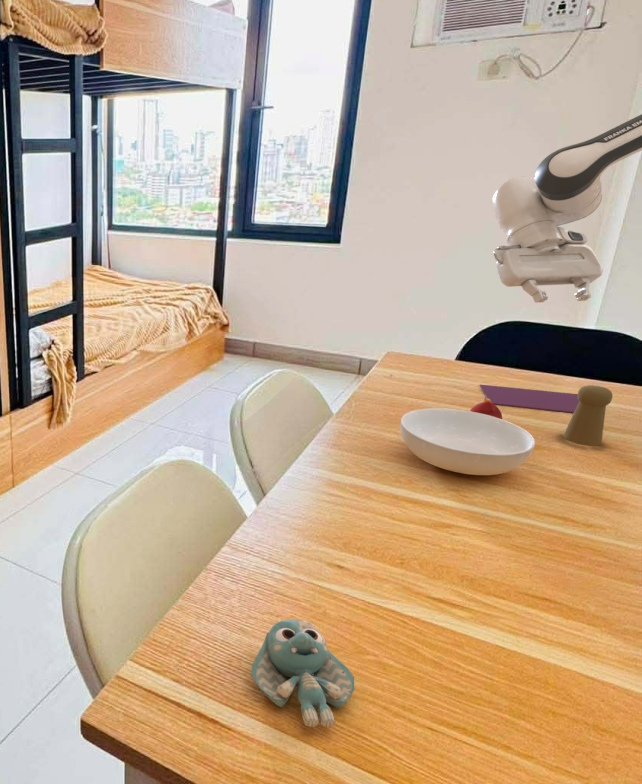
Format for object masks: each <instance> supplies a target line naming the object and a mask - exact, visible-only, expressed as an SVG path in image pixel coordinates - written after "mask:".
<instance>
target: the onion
mask: <svg viewBox="0 0 642 784" xmlns="http://www.w3.org/2000/svg"><path fill="white" fill-rule="evenodd" d="M469 411H471V412H476V413H481V414H486V415H489V416H493V417H496V418H499V419H502V420H503V415H502V412H501V410H500V409H499V407H498V405H494V404H493V403H492V402H491V401H490V399H488V398H487V397H485V398H484V401H482V402H479V403H476V405H474V406H473V407H471V408H470V409H469Z"/></svg>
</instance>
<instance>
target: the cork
mask: <svg viewBox="0 0 642 784" xmlns="http://www.w3.org/2000/svg"><path fill="white" fill-rule="evenodd" d="M577 394H578V400H579V403H578V405H577V407H576V409H575V412H574V413H572V416H571V418H570V420H569V422H568V424H567V426H566V429H565V431H564V433H563V435H562V436H563V438H564V439H566V440H568V441H569V442H571V443H572V442H573V443H575V444H579V445H584V446H585V445H586V446H601V445H602V443H603V441H602V440H603V435H604V433H603V432H604V426H605V425H604V424H605V418H606V408H607V406H608V405H609V404H610V403H612V400H613V392H612V390H610V389H609V388H608V387H607V388H606V387H604V386H599V385H591V384H590V385H589V384H587V385H584V386H582V387H580V388H579V390H578V392H577Z"/></svg>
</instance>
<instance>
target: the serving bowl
mask: <svg viewBox="0 0 642 784" xmlns="http://www.w3.org/2000/svg"><path fill="white" fill-rule="evenodd" d="M400 433H401V438H402V440H403V442H404V444H405V446H406V447H407V449H409V450H410V452H411V453H412V454H414V455H415V457H418V458H419V459H421V460H422V461H424V462H425V463H428V464H430V465H432V466H434V467H437V468H440V469H443V470H446V471H450V472H454V473H458V474H464V475H473V476H496V475H500V474H502V475H503V474H505V473H509V472H511V471H514V470H515V469H517V468H519V467H521V466H522V465H523V464H524V463H525V462H526V461H528V459H529V458H530V456H531V455H532V452H533V451H534V448H535V446H536V439H535V438H534V437H533V435H532V434H531V433H530V432H529V431H527V430H526V429H525V428H523V427H522V426H519V425H518V424H516V423H512V422H510V421H508V420H506V419H503V418H502V419H499V418H496V417H493V416H489V415H486V414H481V413H476V412H471V411H470V410H464V409H455V408H447V407H446V408H445V407H432V408H431V407H430V408H429V407H428V408H418V409H414V410H411V411H408V412H406V413H404V414H403V416H402V417H401V418H400Z"/></svg>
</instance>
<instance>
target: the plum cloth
mask: <svg viewBox="0 0 642 784" xmlns="http://www.w3.org/2000/svg"><path fill="white" fill-rule="evenodd" d="M479 388H481V391H482V392H483V394H484V395H485V398H488V399H490V401H491V402H492V403H493V404H494V405H496V406H503V407H511V408H513V407H514V408H521V409H532V410H540V411H548V412H549V411H550V412H558V413H566V414H568V413H569V414H574V412H575V409H576V407H577V405H578V403H579V400H578V393H571V392H561V391H560V392H558V391H552V390H551V391H550V390H541V389H540V390H539V389H530V388H520V387H511V386H510V387H509V386H500V385H492V384H491V385H490V384H482V383H481V384H479Z"/></svg>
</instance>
